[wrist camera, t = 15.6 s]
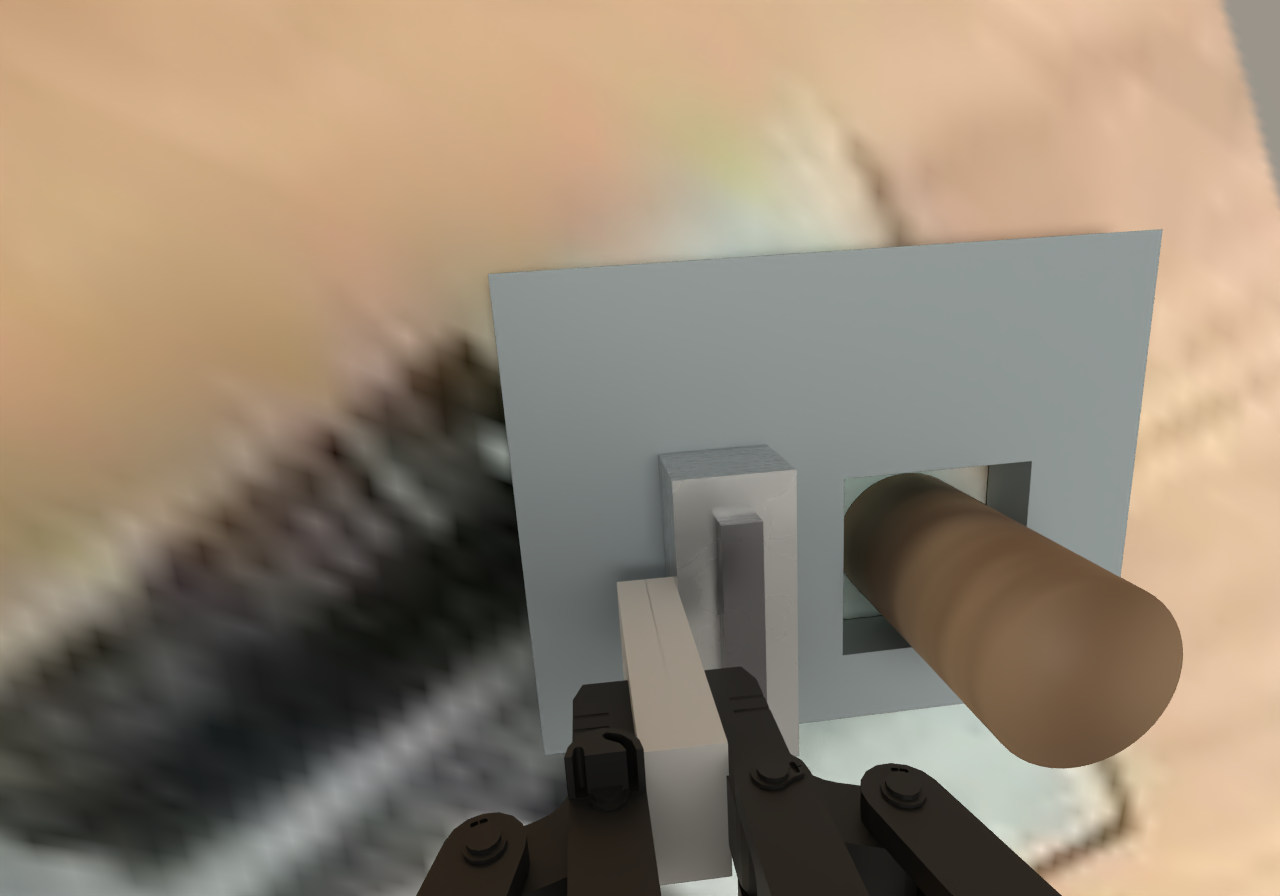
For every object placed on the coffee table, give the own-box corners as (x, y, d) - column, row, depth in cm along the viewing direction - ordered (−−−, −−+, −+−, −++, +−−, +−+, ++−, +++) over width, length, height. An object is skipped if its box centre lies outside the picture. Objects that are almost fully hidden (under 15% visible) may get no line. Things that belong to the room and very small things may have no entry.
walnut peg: (837, 607, 22) (979, 780, 14) (837, 480, 21) (990, 594, 13) (964, 591, 23) (1169, 754, 15) (971, 466, 21) (1195, 570, 14)
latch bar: (674, 711, 20) (691, 786, 17) (658, 454, 18) (675, 488, 15) (772, 699, 20) (806, 771, 17) (767, 444, 18) (804, 476, 15)
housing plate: (546, 713, 22) (544, 755, 20) (496, 274, 19) (487, 274, 17) (1062, 652, 23) (1107, 685, 22) (1105, 234, 20) (1162, 229, 18)
